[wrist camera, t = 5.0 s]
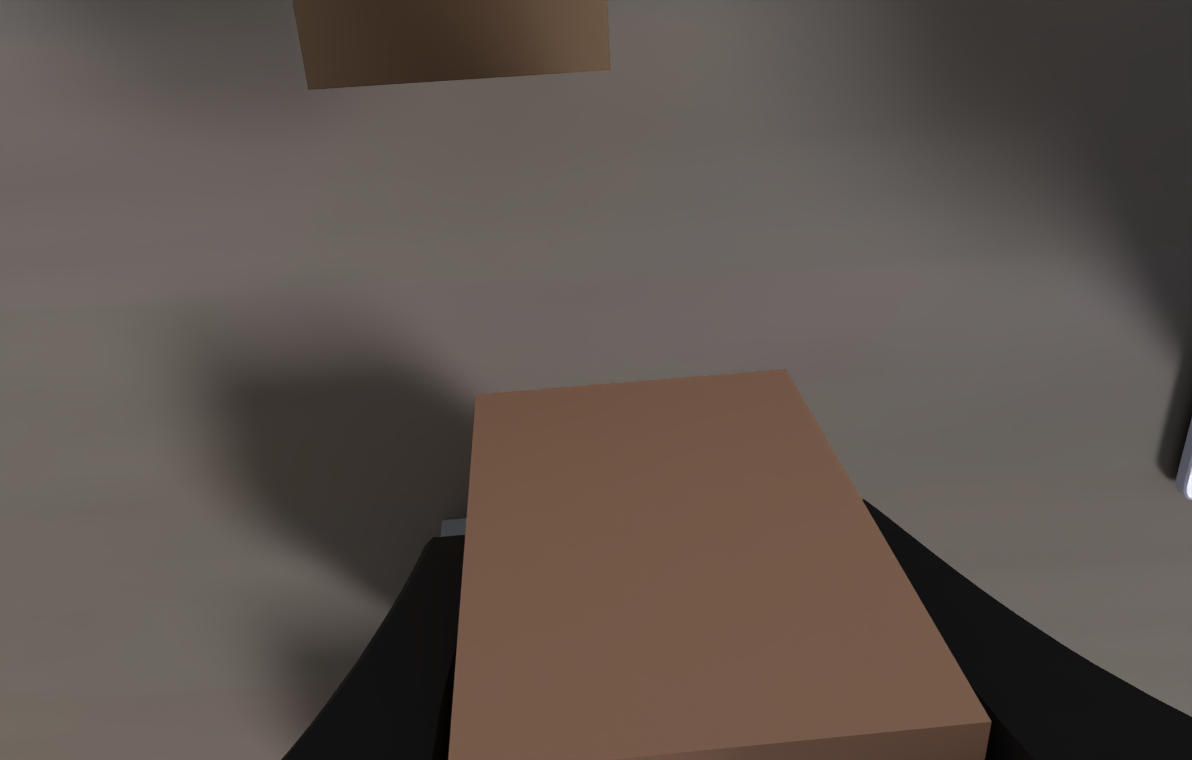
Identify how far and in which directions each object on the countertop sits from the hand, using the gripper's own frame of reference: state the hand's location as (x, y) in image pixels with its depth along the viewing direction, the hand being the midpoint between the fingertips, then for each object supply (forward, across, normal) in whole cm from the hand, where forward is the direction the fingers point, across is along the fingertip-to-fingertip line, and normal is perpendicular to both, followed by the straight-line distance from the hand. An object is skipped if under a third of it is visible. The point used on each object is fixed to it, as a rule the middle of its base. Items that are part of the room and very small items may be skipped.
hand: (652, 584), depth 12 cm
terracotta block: (+2, 0, 0) cm, 2 cm away
